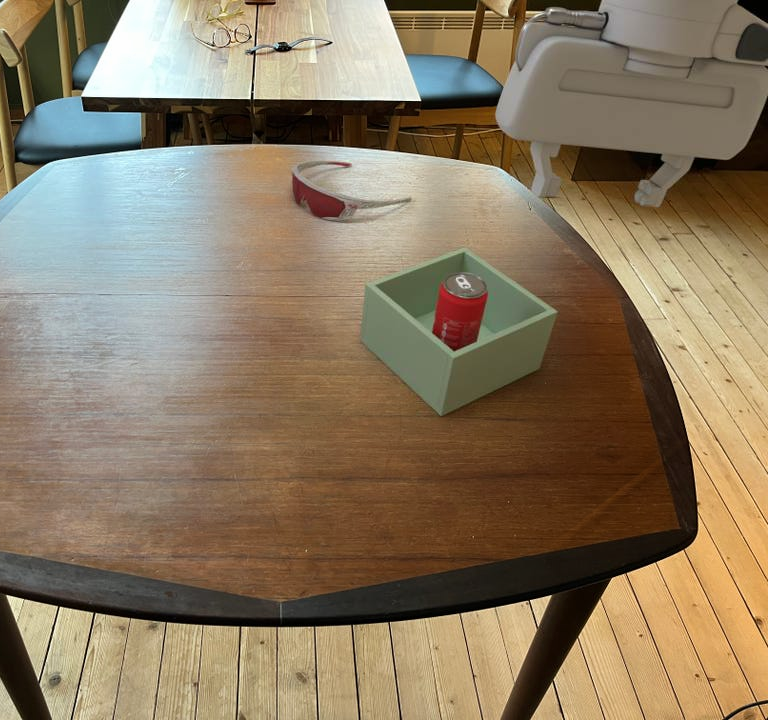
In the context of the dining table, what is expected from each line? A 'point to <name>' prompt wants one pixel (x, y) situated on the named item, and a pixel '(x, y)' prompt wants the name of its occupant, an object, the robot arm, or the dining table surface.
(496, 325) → the bin
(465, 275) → the beverage can
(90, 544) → the dining table surface
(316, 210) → the sunglasses
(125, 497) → the dining table surface
